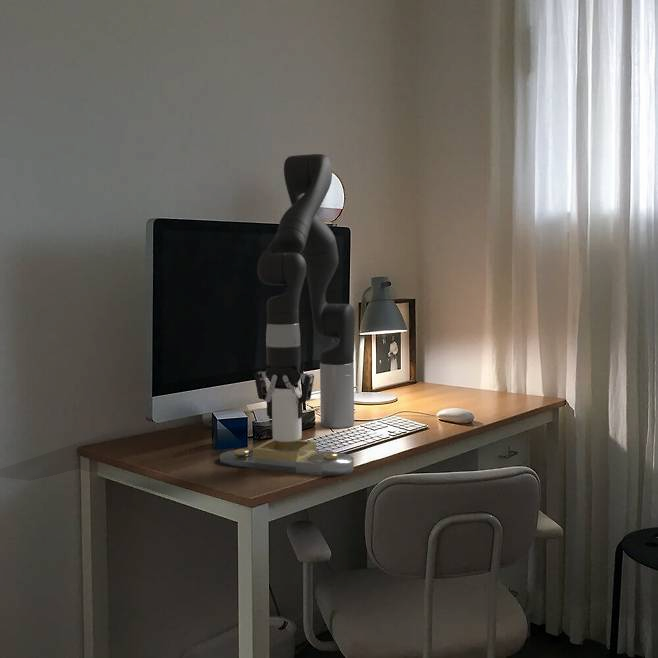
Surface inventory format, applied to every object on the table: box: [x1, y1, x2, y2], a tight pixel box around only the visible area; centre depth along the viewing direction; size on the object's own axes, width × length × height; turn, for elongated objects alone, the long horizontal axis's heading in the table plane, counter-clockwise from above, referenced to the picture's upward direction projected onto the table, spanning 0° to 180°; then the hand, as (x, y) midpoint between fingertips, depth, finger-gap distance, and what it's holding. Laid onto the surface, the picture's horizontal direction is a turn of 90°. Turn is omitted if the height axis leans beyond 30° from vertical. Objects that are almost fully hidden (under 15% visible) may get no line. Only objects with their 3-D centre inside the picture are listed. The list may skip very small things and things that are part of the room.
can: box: [271, 385, 303, 443], centre depth 171 cm, size 6×6×12 cm
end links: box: [219, 438, 355, 477], centre depth 172 cm, size 32×11×4 cm, turn 67°
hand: (284, 418), depth 172 cm, fingers closed on can, 5 cm apart
